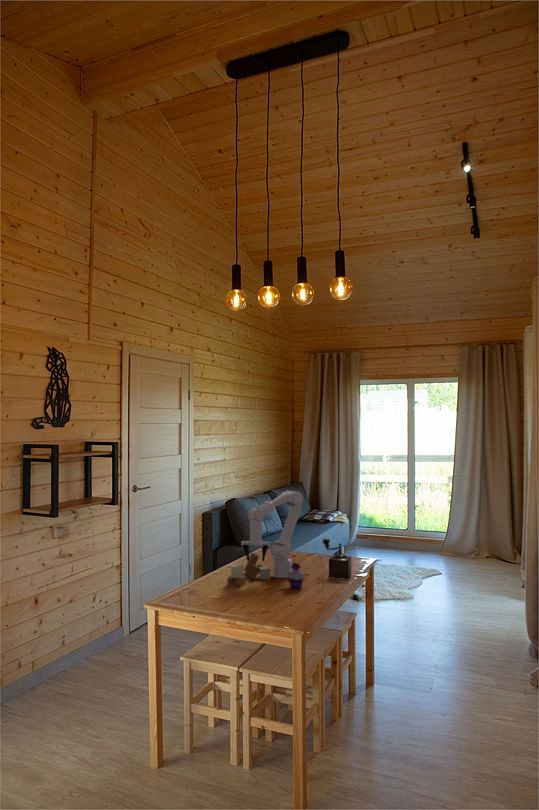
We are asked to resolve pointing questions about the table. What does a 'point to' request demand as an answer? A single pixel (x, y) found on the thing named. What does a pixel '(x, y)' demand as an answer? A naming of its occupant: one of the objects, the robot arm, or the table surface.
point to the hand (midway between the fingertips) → (255, 560)
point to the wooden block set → (252, 566)
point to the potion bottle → (295, 576)
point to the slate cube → (264, 572)
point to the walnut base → (236, 581)
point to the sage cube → (237, 571)
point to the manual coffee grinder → (338, 563)
